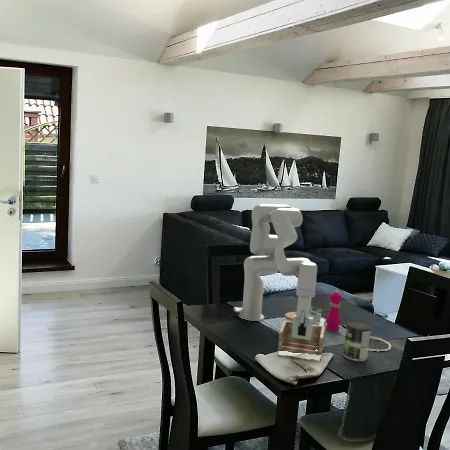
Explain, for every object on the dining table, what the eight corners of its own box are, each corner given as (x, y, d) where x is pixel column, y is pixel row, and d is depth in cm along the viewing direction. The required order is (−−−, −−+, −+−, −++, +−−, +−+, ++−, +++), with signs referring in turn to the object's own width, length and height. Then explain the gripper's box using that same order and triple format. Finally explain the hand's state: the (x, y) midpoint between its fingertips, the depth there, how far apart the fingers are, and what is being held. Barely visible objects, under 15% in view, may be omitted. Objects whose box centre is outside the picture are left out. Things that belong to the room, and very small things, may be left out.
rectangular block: (291, 337, 231) (293, 316, 229) (292, 334, 234) (294, 314, 232) (310, 340, 229) (312, 319, 227) (311, 337, 232) (313, 317, 230)
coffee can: (347, 360, 229) (350, 328, 227) (340, 351, 239) (343, 320, 237) (371, 361, 230) (375, 329, 228) (363, 351, 240) (366, 321, 238)
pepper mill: (340, 333, 262) (344, 292, 259) (324, 331, 263) (328, 290, 260) (340, 328, 269) (344, 288, 266) (325, 326, 270) (329, 286, 267)
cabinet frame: (277, 354, 230) (279, 332, 229) (282, 342, 245) (284, 320, 244) (320, 361, 226) (322, 338, 225) (322, 348, 241) (325, 326, 240)
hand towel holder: (375, 346, 237) (340, 330, 254) (374, 355, 238) (339, 339, 255) (400, 339, 247) (364, 324, 264) (399, 348, 248) (363, 333, 264)
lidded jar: (309, 330, 263) (311, 311, 261) (302, 337, 253) (304, 317, 252) (287, 325, 267) (289, 307, 266) (280, 332, 258) (282, 313, 256)
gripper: (298, 285, 237) (295, 326, 240) (294, 295, 221) (290, 339, 224) (316, 288, 235) (312, 329, 238) (313, 298, 219) (309, 342, 222)
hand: (301, 333), depth 231 cm, fingers closed on rectangular block, 3 cm apart
